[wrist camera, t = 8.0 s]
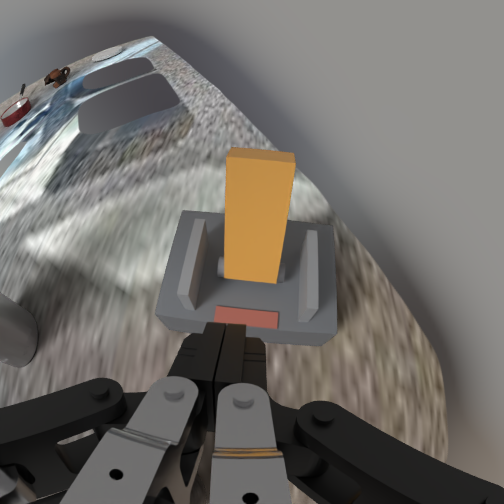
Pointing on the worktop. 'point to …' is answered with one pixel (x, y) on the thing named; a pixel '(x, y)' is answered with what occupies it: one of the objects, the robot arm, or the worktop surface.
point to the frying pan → (16, 110)
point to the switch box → (251, 285)
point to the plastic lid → (107, 53)
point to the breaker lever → (256, 214)
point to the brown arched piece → (57, 77)
